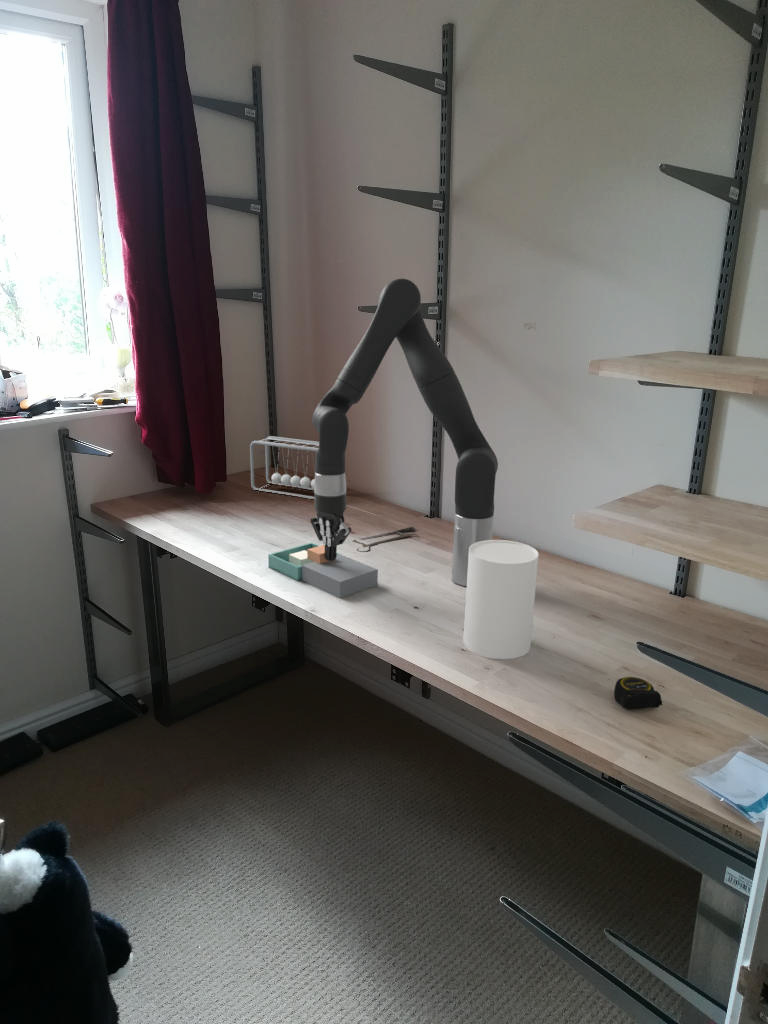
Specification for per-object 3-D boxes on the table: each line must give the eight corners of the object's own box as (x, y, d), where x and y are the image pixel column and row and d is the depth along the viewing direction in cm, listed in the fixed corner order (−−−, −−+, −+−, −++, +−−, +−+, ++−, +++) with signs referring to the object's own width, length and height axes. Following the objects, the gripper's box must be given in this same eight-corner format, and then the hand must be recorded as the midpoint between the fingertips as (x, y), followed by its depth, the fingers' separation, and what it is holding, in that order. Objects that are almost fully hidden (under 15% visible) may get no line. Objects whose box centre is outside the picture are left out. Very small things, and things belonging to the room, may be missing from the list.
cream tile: (304, 550, 192) (304, 559, 193) (288, 554, 189) (288, 563, 190) (316, 555, 189) (316, 564, 190) (300, 559, 186) (300, 569, 186)
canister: (475, 623, 160) (481, 535, 154) (537, 637, 155) (545, 546, 149) (453, 649, 148) (459, 555, 142) (519, 665, 143) (528, 568, 137)
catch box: (341, 567, 190) (341, 554, 189) (297, 581, 180) (297, 567, 179) (311, 554, 198) (311, 542, 197) (268, 567, 188) (268, 554, 187)
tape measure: (623, 715, 127) (626, 696, 126) (606, 694, 134) (608, 676, 132) (660, 713, 128) (663, 694, 127) (642, 692, 135) (644, 674, 134)
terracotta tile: (335, 559, 184) (335, 549, 183) (319, 564, 180) (319, 554, 180) (323, 554, 187) (323, 545, 187) (307, 558, 184) (307, 549, 183)
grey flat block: (377, 584, 179) (377, 569, 178) (339, 598, 171) (340, 582, 170) (339, 568, 189) (339, 553, 188) (302, 580, 181) (302, 565, 180)
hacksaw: (412, 530, 221) (413, 525, 221) (433, 540, 213) (433, 535, 212) (342, 543, 209) (342, 537, 208) (360, 554, 200) (361, 549, 200)
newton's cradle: (341, 495, 255) (341, 444, 250) (326, 502, 246) (326, 450, 240) (267, 483, 266) (266, 435, 261) (250, 490, 257) (249, 440, 252)
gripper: (361, 493, 174) (360, 563, 179) (324, 482, 183) (324, 549, 188) (336, 499, 169) (336, 570, 174) (300, 487, 177) (301, 556, 183)
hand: (330, 559), depth 181 cm, fingers closed
